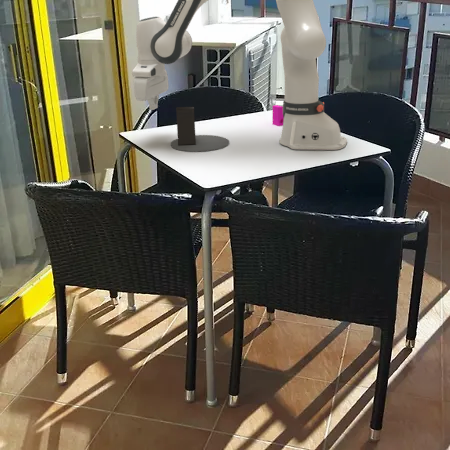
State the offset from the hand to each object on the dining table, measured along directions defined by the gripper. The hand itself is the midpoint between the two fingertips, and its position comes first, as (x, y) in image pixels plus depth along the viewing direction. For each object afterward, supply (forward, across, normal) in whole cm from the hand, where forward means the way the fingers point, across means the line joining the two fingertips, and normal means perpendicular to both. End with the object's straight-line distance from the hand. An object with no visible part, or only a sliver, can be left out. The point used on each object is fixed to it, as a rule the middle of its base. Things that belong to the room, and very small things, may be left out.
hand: (153, 108), depth 218 cm
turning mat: (+11, 0, +16) cm, 20 cm away
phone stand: (+11, 0, +12) cm, 16 cm away
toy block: (+11, -37, +40) cm, 55 cm away
